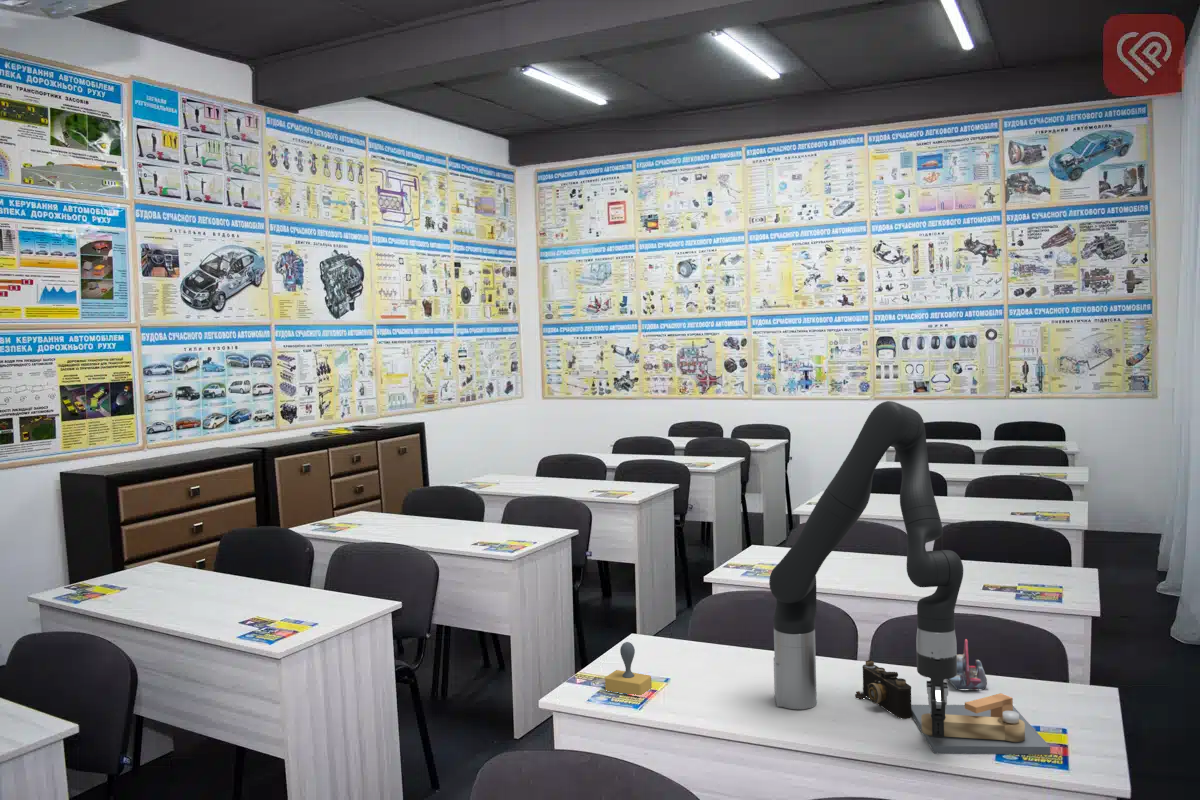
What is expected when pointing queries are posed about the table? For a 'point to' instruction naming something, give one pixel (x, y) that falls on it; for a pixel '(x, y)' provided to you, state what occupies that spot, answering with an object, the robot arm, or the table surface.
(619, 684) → the rubber stamp
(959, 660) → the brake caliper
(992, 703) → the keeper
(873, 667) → the camera
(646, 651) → the table surface
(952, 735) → the latch lever
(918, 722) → the base plate
